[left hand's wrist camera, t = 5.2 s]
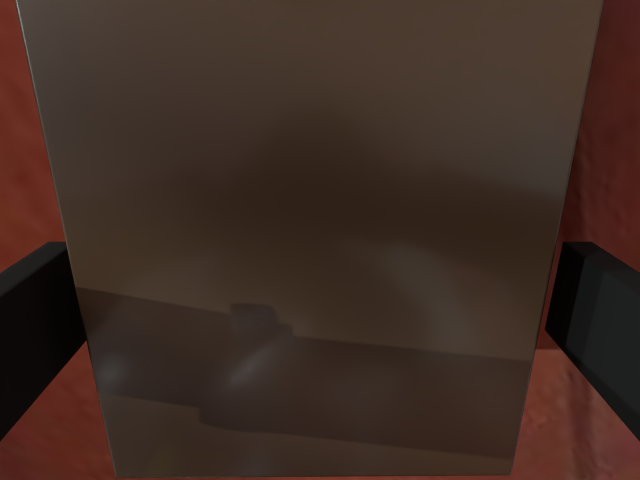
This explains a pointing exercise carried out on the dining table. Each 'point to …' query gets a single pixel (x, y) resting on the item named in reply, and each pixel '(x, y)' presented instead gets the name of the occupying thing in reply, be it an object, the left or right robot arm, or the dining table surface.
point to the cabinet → (310, 222)
